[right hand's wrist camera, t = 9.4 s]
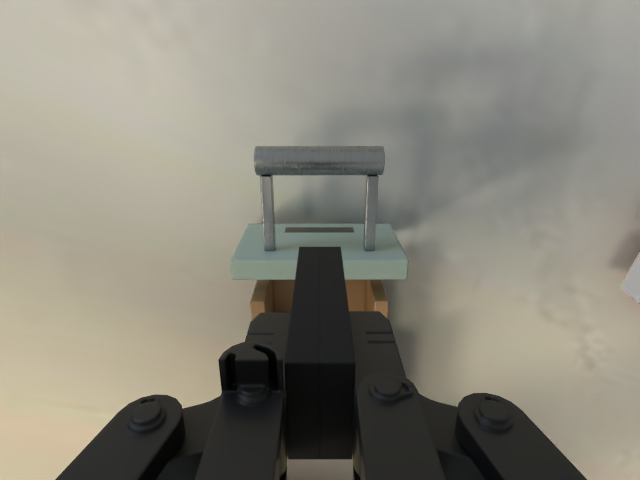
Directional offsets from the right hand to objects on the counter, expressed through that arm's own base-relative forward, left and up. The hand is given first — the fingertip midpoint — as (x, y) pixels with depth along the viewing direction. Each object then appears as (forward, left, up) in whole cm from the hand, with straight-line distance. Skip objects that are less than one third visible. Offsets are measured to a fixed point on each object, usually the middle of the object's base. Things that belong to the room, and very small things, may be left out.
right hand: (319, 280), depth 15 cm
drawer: (-2, -5, -12) cm, 14 cm away
